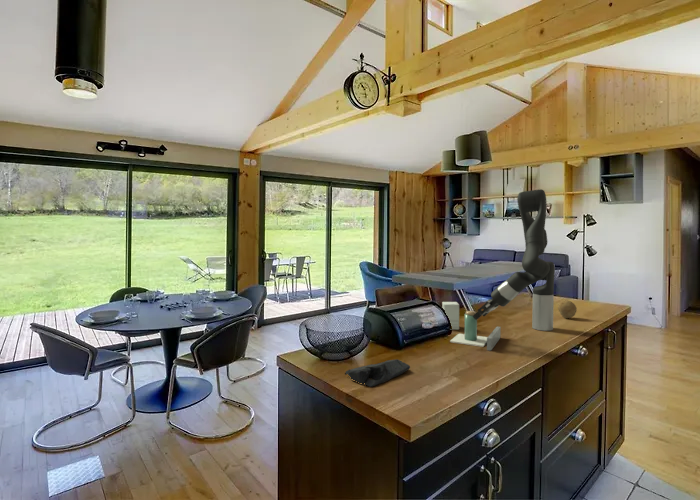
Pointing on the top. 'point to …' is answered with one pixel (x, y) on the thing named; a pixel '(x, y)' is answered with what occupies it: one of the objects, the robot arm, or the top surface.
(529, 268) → the robot arm
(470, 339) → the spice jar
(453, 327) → the supplement box
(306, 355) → the top surface
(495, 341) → the low wall
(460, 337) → the rubber mat
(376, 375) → the dark slate chunk
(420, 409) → the top surface
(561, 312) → the natural sponge
